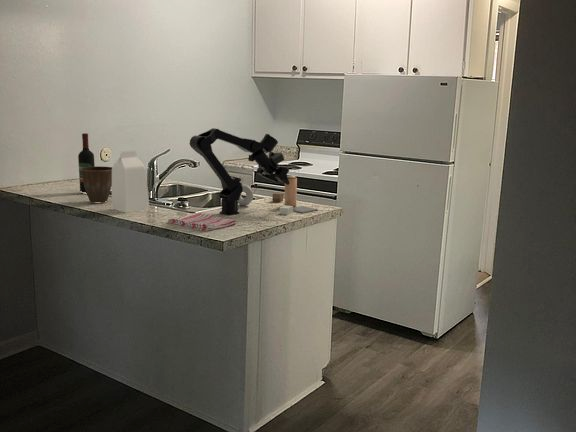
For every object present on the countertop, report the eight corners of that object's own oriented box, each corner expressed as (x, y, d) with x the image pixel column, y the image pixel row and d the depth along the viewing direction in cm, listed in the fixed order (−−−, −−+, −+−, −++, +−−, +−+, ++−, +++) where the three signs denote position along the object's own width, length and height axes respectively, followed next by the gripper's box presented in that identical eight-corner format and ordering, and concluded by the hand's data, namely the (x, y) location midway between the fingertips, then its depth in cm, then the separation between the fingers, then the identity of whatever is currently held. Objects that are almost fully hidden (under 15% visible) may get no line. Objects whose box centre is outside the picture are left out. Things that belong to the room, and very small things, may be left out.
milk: (126, 213, 261) (123, 153, 255) (111, 209, 268) (108, 150, 263) (149, 209, 269) (147, 151, 264) (134, 205, 277) (132, 149, 272)
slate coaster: (302, 213, 267) (302, 212, 267) (286, 209, 274) (286, 208, 274) (317, 210, 274) (318, 209, 274) (302, 207, 281) (302, 205, 281)
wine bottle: (99, 192, 308) (96, 133, 302) (87, 194, 302) (83, 134, 296) (89, 191, 312) (86, 132, 306) (77, 193, 306) (73, 133, 300)
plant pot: (109, 198, 294) (108, 165, 291) (119, 203, 282) (118, 169, 278) (78, 201, 286) (76, 167, 283) (87, 206, 274) (85, 171, 270)
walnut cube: (280, 202, 292) (280, 194, 291) (272, 201, 293) (272, 193, 293) (283, 201, 296) (283, 193, 295) (275, 200, 297) (275, 192, 296)
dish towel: (205, 233, 230) (205, 224, 229) (166, 223, 245) (166, 215, 244) (237, 226, 243) (237, 217, 242) (198, 217, 258) (198, 209, 257)
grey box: (287, 215, 264) (288, 208, 263) (279, 214, 265) (279, 207, 265) (293, 212, 269) (293, 206, 269) (284, 211, 271) (284, 205, 270)
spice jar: (290, 207, 280) (290, 177, 277) (281, 205, 284) (282, 176, 281) (298, 205, 284) (299, 176, 281) (290, 204, 288) (291, 175, 285)
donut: (254, 205, 282) (254, 184, 280) (251, 207, 279) (251, 185, 277) (236, 203, 286) (236, 182, 284) (232, 205, 283) (232, 183, 281)
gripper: (286, 149, 265) (305, 172, 274) (262, 145, 280) (281, 167, 288) (271, 168, 262) (291, 190, 271) (247, 163, 277) (267, 185, 285)
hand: (282, 182), depth 279 cm, fingers open, 9 cm apart
